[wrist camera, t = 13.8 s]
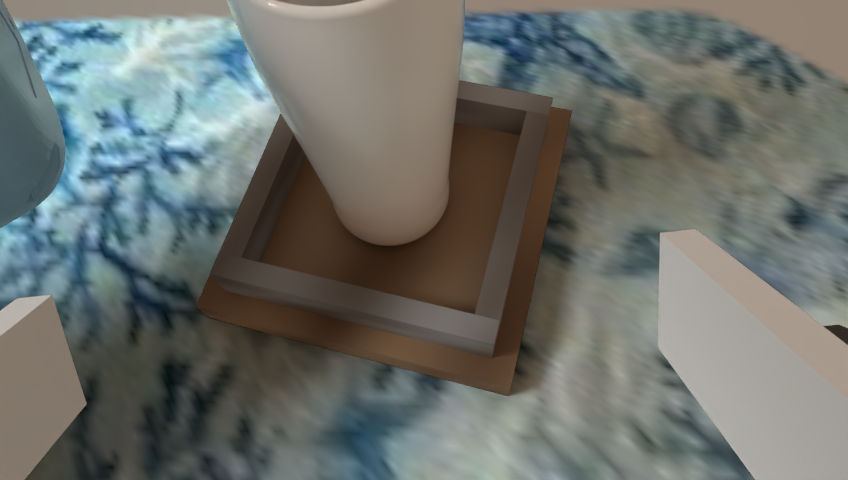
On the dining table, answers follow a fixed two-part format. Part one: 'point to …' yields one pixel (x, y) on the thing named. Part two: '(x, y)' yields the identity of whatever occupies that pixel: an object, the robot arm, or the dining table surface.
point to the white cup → (366, 101)
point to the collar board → (403, 251)
